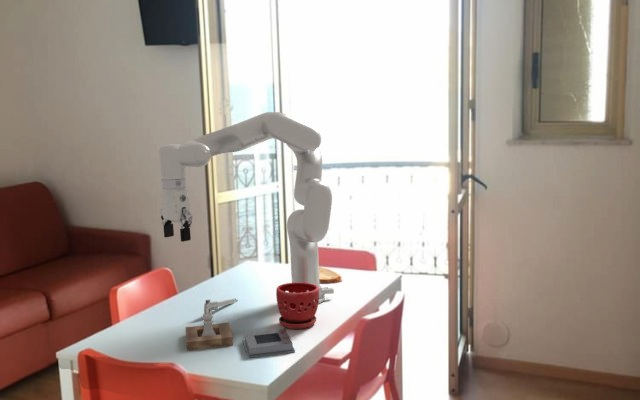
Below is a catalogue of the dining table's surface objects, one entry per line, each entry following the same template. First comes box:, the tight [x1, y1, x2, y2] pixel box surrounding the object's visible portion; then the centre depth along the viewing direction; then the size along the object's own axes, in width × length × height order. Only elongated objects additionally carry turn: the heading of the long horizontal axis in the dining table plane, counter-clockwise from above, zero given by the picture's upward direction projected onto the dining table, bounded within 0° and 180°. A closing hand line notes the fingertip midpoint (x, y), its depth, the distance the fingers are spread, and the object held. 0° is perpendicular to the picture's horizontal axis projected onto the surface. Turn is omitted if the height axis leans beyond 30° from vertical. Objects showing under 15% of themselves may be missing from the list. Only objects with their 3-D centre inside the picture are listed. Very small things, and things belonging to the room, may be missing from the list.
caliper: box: [203, 298, 239, 315], centre depth 228 cm, size 20×1×6 cm, turn 158°
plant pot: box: [275, 282, 319, 330], centre depth 210 cm, size 13×13×12 cm
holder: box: [242, 328, 296, 359], centre depth 193 cm, size 13×13×2 cm
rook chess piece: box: [201, 312, 216, 337], centre depth 200 cm, size 4×4×8 cm
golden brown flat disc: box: [319, 266, 343, 285], centre depth 263 cm, size 18×18×4 cm
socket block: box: [184, 322, 234, 351], centre depth 200 cm, size 13×13×2 cm
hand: (177, 238), depth 212 cm, fingers open, 9 cm apart
